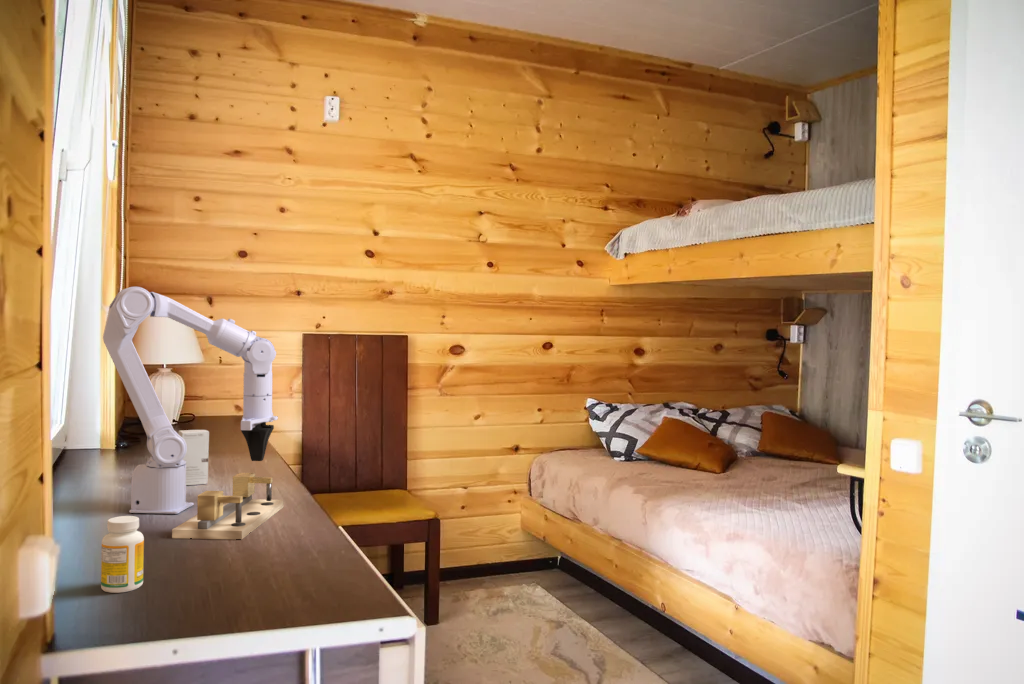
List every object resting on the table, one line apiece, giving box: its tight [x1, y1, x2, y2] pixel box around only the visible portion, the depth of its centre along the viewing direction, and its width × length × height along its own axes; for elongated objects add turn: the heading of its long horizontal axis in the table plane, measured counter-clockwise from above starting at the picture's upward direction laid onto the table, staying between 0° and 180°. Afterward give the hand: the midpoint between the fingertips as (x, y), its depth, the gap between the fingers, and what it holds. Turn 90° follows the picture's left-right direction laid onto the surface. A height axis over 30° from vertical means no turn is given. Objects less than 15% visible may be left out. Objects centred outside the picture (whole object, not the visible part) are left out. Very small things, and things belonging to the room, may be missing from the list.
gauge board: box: [171, 490, 284, 540], centre depth 149 cm, size 12×24×7 cm, turn 179°
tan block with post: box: [232, 472, 274, 501], centre depth 158 cm, size 7×4×5 cm, turn 89°
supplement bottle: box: [100, 515, 145, 594], centre depth 112 cm, size 5×5×10 cm
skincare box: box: [177, 429, 210, 486], centre depth 182 cm, size 6×4×12 cm
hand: (257, 460), depth 166 cm, fingers closed
